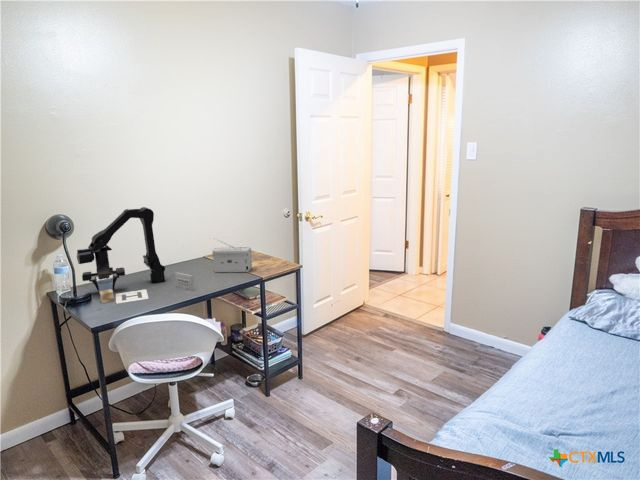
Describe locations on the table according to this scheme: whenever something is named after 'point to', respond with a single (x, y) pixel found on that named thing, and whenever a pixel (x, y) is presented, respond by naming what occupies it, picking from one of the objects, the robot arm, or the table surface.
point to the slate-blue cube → (105, 285)
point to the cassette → (183, 284)
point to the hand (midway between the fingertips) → (106, 290)
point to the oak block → (106, 296)
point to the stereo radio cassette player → (232, 259)
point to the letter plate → (131, 296)
